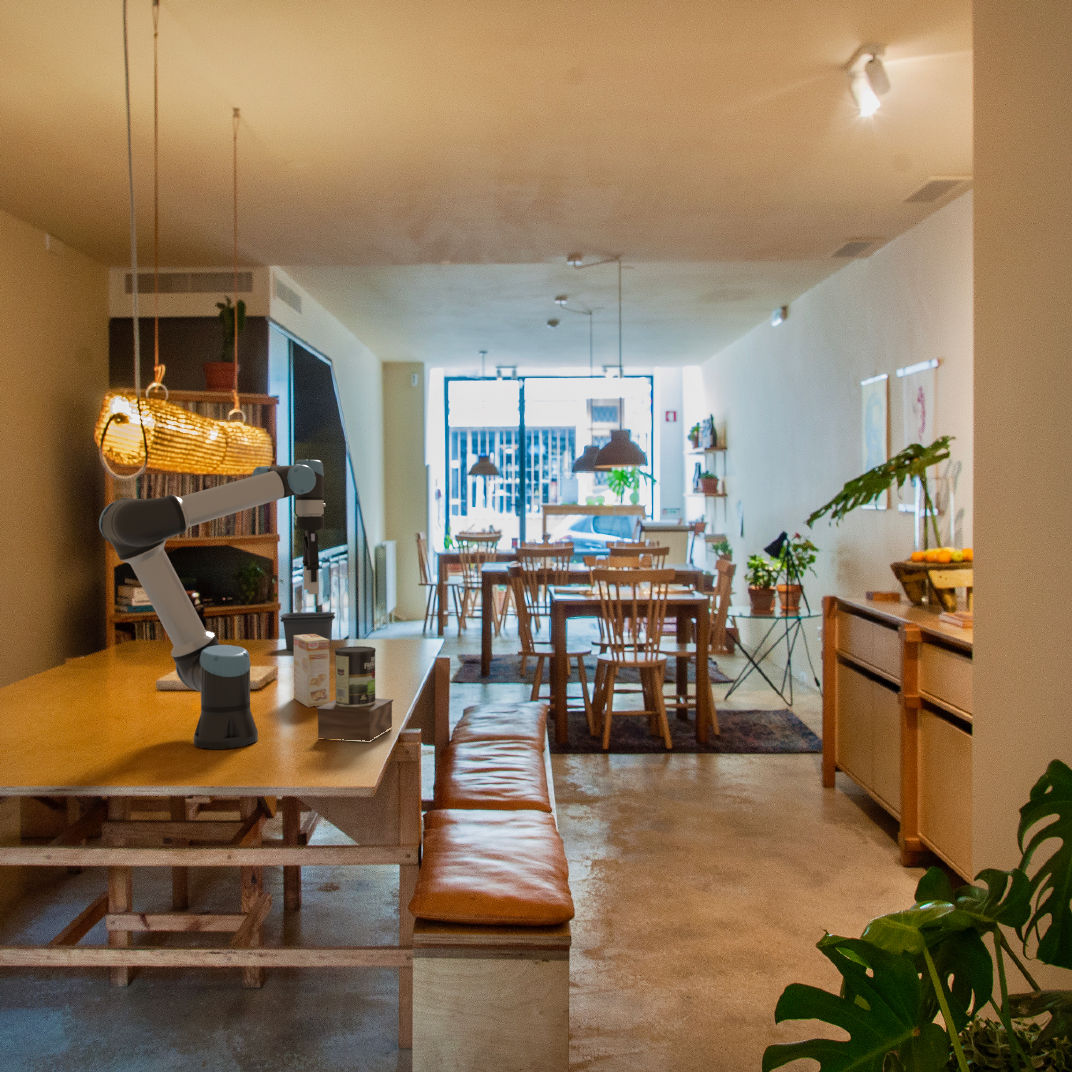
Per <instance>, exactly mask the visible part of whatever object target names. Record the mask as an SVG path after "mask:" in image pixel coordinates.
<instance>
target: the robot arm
mask: <svg viewBox="0 0 1072 1072" xmlns="http://www.w3.org/2000/svg"><path fill="white" fill-rule="evenodd" d="M324 478H325V473H324V464H323V462H322V461H321V460H318V459H297V460H296V461H295V463H294V464H291V465H278V466H274V465H273V466H272V465H270V466H269V465H265V466H262V465H260V466H257V467H255V468H254V469H253V471H252V474H251V476H250V477H247V478H243V479H239V480H236V481H232V482H228V483H224V484H221V485H218V486H214V487H209V488H207V489H203V490H200V491H196V492H193V493H189V494H185V495H182V496H177V495H174V494H169V495H166V496H162V497H155V498H153V497H152V498H129V497H125V498H121V499H118V500H115V501H112V502H111V503H109V504H108V505H106V506H105V508H104V509H103V510H102V512H101V514H100V515H99V516H100V517H99V520H98V521H99V522H98V526H99V531H100V533H101V534H102V537H103V538H104V539H105V541H107V542H108V543H110V544H111V545H112V547H113V549H114V551H115V552H116V555H117V556H118V558H119V560H120V562H124V563H127V564H129V565H130V566H131V568H132V570H133V572H134V574H135V576H136V578H137V579H138V582H139V583H140V585H141V587H142V589H143V590H144V593H145V595H146V597H147V598H148V600H149V602H150V604H151V605H152V609H154V612H155V613H156V615H157V617H158V619H159V620H160V621H159V622H160V623H161V624H162V626H163V629H164V630H165V632H166V634H167V636H168V638H169V639H170V642H171V644H172V645H173V646H172V648H171V652H170V655H171V657H172V659H173V662H174V663H175V671H176V675H177V677H178V679H179V680H180V681H181V682H182V683H183V684H184V685H185V686H186V687H188V688H189V689H192V690H193V691H194V690H195V691H197V692H200V715H199V718H198V722H197V724H196V728H195V731H194V734H193V745H194V747H196V748H199V747H200V748H199V749H203V748H209V749H208V750H224V749H223V748H230V749H236V748H235V747H238V748H242V747H241V746H243V747H246V745H247V746H249V745H248V744H250V745H252V744H251V743H253V744H255V743H257V741H258V739H259V732H258V731H259V730H258V728H257V724H256V723H255V719H254V717H253V714H252V711H251V666H252V665H251V663H252V662H251V659H250V653H249V651H248V650H247V649H246V648H244V647H242V646H239V645H231V644H221V643H220V642H219V640H218V638H217V636H216V633H215V632H213V631H209V630H206V628H205V627H204V624H203V622H202V620H201V618H200V617H199V614H198V612H197V610H196V608H195V607H194V604H193V603H192V601H191V599H190V597H189V595H188V593H187V592H186V590H185V588H184V585H183V584H182V582H181V580H180V578H179V576H178V574H177V572H176V569H175V568H174V566H173V564H172V563H171V560H170V559H169V556H168V555H167V553H166V551H165V545H166V542H167V539H170V538H173V537H176V536H178V535H182V534H185V533H187V530H188V529H189V528H190V527H193V526H197V525H200V524H204V523H207V522H210V521H213V520H216V519H220V518H223V517H226V516H230V515H232V514H236V513H239V512H242V511H246V510H249V509H252V508H256V507H258V506H262V505H266V504H269V503H272V502H275V501H279V500H281V499H285V498H289V497H292V496H295V514H296V515H298V516H296V518H295V519H296V520H295V521H296V523H295V524H296V525H295V526H296V528H295V529H296V530H299V531H304V532H303V533H302V535H303V536H302V550H303V551H302V555H303V556H302V565H303V590H307V591H308V595H319V593H320V591H319V589H320V585H319V584H320V579H319V573H320V572H319V569H320V557H319V534H318V533H317V532H316V531H317V530H318V531H319V530H320V531H321V530H324V529H325V517H324V516H323V515H324V510H325V509H324V508H325V507H327V505H326V503H324V490H325V489H324V481H325V480H324ZM254 742H255V743H254Z"/></svg>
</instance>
